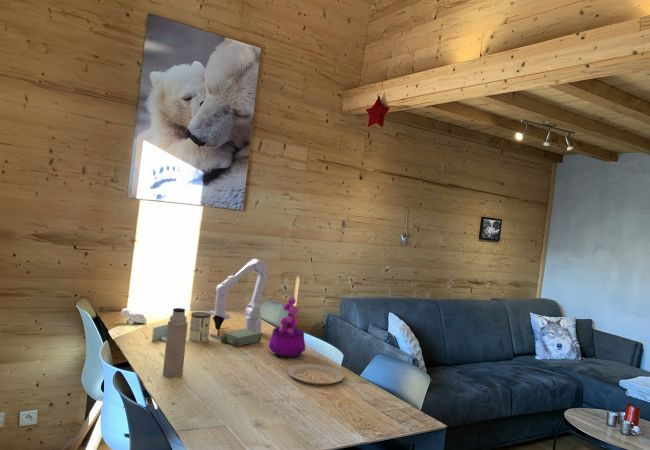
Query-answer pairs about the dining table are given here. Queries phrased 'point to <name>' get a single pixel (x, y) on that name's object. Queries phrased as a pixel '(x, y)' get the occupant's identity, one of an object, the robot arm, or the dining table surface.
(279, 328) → the decorative plant
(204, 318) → the coffee can
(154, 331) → the right angle wall
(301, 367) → the plate
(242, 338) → the grey-green flat box
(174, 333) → the thermos bottle
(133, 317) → the white lumpy figure
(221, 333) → the orange and grey block
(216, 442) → the dining table surface
